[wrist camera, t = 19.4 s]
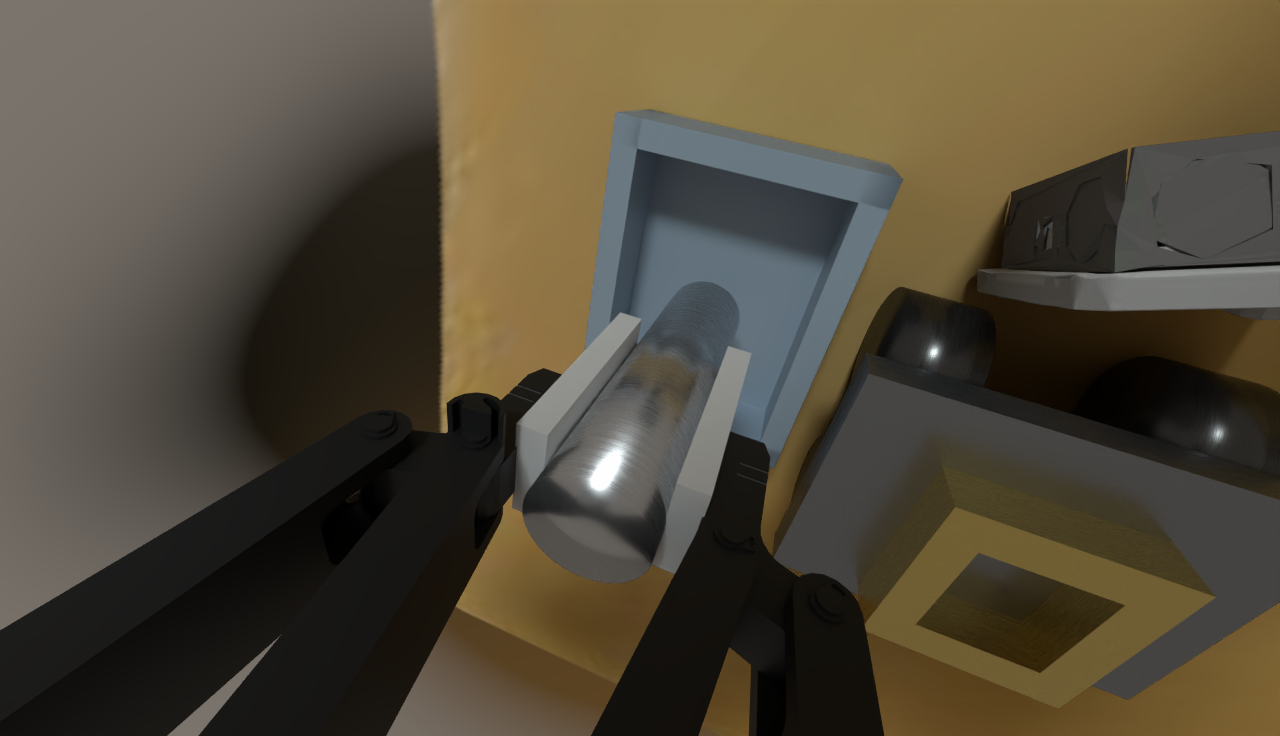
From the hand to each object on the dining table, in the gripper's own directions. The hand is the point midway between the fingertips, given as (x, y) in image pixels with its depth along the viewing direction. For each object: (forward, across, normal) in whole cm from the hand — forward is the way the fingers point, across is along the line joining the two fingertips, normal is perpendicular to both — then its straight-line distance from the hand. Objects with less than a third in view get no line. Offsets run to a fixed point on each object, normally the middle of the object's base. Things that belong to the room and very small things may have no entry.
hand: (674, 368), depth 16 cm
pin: (+5, 0, 0) cm, 5 cm away
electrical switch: (+9, +13, +7) cm, 17 cm away
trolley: (+9, +13, -3) cm, 16 cm away
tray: (+9, 0, 0) cm, 9 cm away
